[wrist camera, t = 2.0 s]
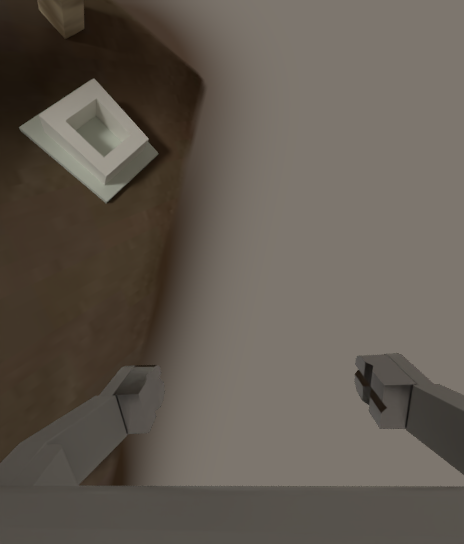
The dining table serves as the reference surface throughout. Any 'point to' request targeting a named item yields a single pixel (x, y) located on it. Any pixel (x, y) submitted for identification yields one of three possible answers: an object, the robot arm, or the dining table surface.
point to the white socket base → (92, 139)
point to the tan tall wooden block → (64, 15)
